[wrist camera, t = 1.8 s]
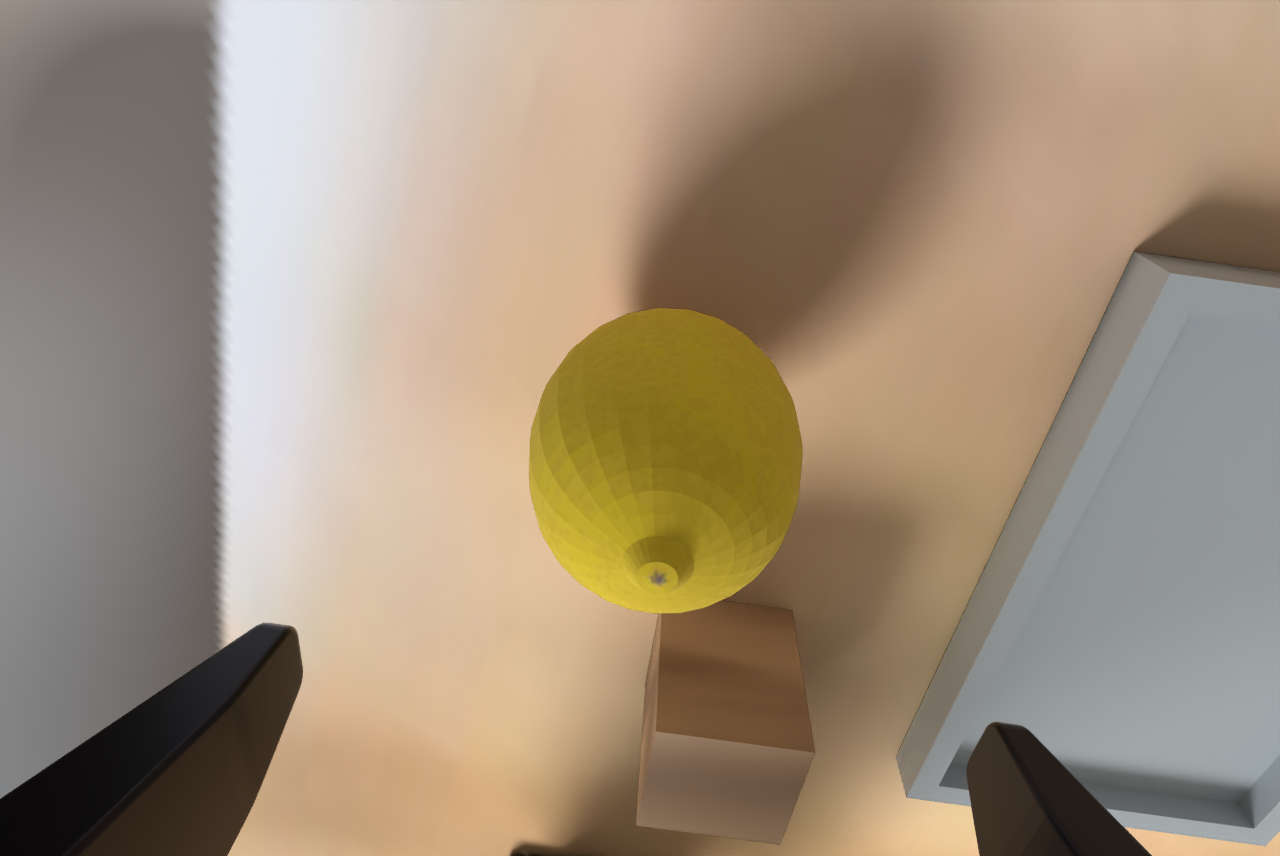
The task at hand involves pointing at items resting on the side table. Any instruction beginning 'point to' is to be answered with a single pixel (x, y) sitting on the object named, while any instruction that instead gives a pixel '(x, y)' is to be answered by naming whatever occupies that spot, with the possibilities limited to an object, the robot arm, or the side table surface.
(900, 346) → the side table surface
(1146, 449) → the tray
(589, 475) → the lemon
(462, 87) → the side table surface
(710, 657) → the walnut block
